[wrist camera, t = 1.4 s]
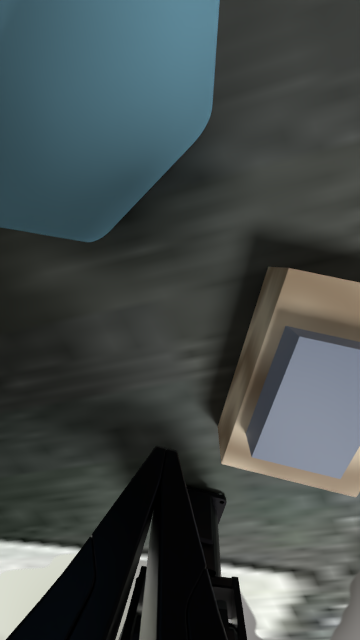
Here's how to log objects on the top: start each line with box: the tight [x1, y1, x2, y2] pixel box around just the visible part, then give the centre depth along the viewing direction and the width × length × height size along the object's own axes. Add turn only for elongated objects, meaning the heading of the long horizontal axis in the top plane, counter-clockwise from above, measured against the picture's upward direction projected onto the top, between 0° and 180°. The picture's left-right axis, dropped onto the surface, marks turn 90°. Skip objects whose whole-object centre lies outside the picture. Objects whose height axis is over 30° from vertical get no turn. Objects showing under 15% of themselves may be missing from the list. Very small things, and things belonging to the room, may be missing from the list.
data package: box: [0, 0, 220, 242], centre depth 10 cm, size 12×4×12 cm, turn 130°
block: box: [246, 326, 360, 479], centre depth 13 cm, size 9×6×2 cm, turn 169°
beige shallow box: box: [218, 267, 360, 497], centre depth 16 cm, size 16×11×4 cm
